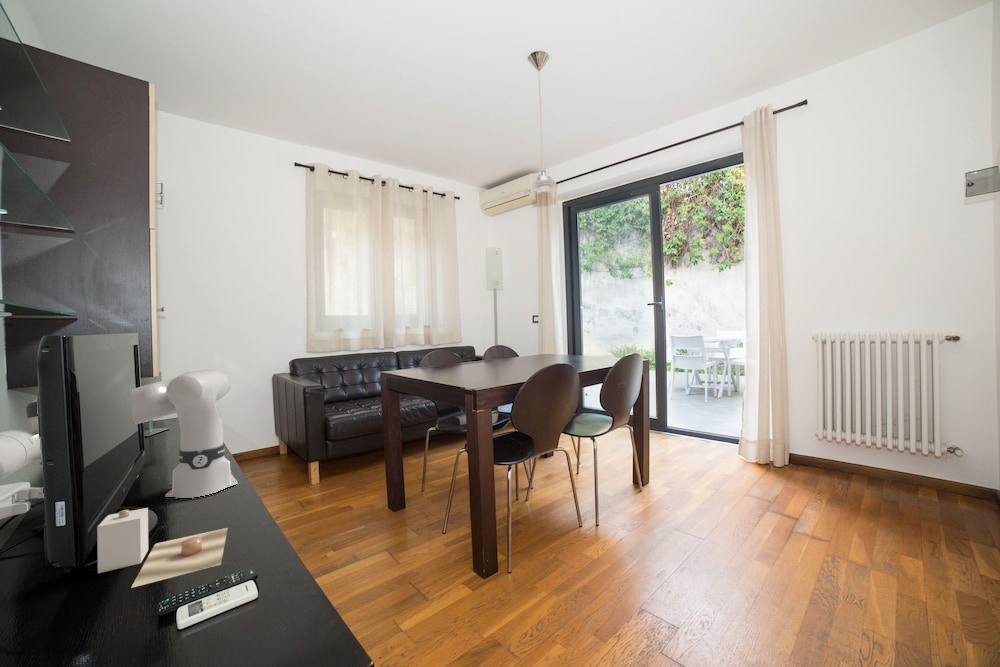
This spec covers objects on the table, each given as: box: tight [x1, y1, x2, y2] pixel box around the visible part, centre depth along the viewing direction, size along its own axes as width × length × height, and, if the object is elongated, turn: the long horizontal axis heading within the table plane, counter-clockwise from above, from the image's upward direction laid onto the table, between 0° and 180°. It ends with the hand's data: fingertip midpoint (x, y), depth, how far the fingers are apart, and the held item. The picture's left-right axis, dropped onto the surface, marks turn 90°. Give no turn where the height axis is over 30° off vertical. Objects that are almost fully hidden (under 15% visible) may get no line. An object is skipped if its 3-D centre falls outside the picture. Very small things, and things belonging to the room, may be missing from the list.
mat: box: [130, 527, 229, 589], centre depth 87 cm, size 20×14×1 cm
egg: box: [181, 537, 202, 557], centre depth 88 cm, size 4×4×2 cm
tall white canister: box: [96, 507, 149, 574], centre depth 85 cm, size 7×7×11 cm
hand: (40, 498), depth 79 cm, fingers open, 8 cm apart
